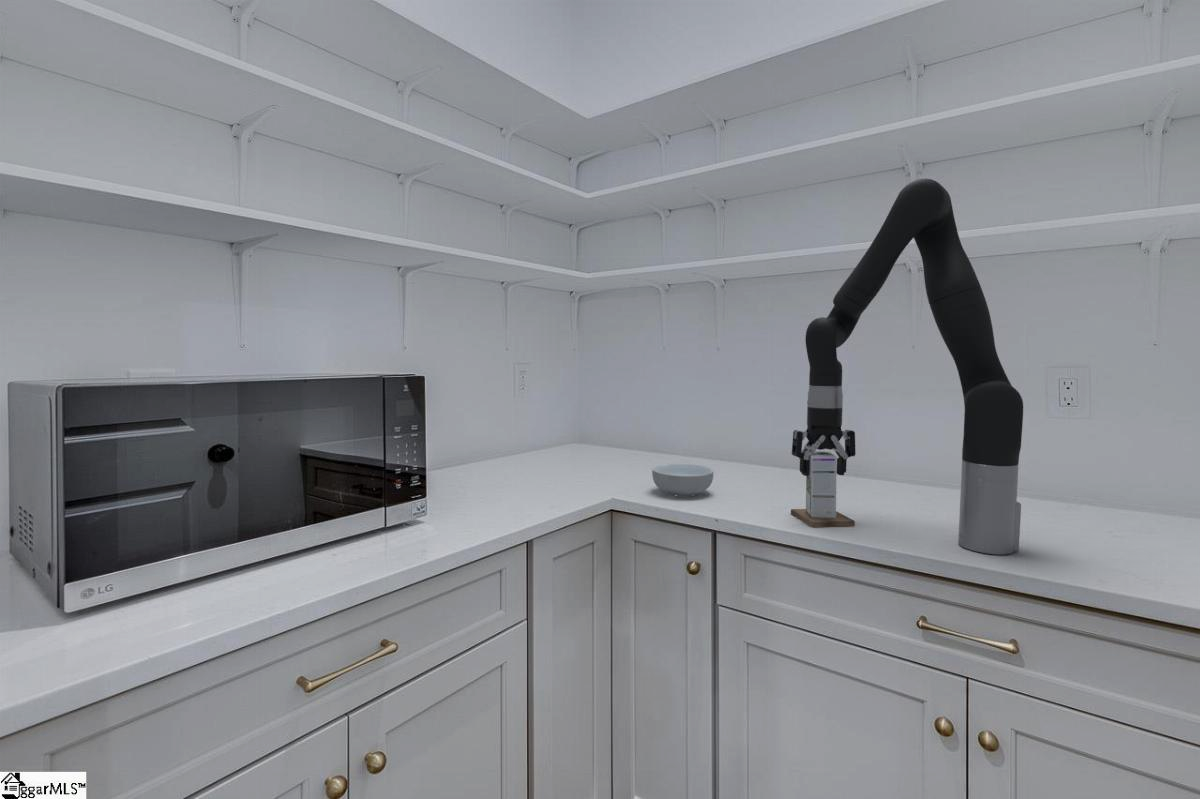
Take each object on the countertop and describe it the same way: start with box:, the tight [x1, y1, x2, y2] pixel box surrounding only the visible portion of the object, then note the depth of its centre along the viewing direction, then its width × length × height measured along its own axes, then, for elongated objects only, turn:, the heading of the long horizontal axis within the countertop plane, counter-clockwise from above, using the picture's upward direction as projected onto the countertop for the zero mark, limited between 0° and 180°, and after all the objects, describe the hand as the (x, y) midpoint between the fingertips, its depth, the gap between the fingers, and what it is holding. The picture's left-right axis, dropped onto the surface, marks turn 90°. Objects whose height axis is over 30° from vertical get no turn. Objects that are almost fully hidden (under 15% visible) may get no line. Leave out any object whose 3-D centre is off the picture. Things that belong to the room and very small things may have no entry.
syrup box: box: [805, 451, 838, 518], centre depth 133 cm, size 6×6×14 cm
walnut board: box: [790, 508, 856, 528], centre depth 134 cm, size 10×11×1 cm
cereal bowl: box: [651, 462, 714, 497], centre depth 160 cm, size 17×17×7 cm
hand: (822, 475), depth 133 cm, fingers open, 8 cm apart
